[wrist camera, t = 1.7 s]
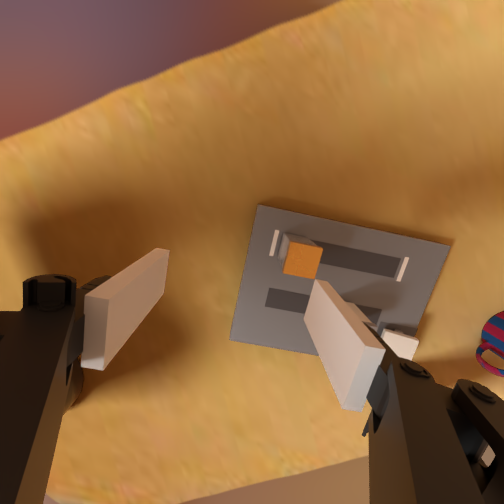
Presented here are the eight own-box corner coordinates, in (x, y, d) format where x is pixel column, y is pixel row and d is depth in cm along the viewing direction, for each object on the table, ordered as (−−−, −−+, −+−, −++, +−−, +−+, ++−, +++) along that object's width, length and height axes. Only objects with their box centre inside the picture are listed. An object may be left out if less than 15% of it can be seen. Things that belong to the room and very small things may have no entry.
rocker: (370, 356, 35) (372, 364, 33) (382, 324, 34) (385, 331, 32) (400, 366, 34) (405, 374, 32) (413, 334, 33) (419, 341, 31)
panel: (230, 331, 35) (229, 340, 33) (257, 203, 31) (258, 204, 29) (392, 360, 37) (400, 370, 35) (439, 242, 33) (452, 246, 30)
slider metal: (276, 257, 30) (282, 273, 25) (282, 231, 29) (291, 241, 24) (301, 262, 30) (314, 279, 25) (308, 237, 30) (323, 248, 24)
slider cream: (323, 320, 32) (340, 348, 27) (330, 298, 32) (349, 322, 26) (347, 324, 33) (368, 353, 27) (355, 302, 32) (378, 327, 26)
